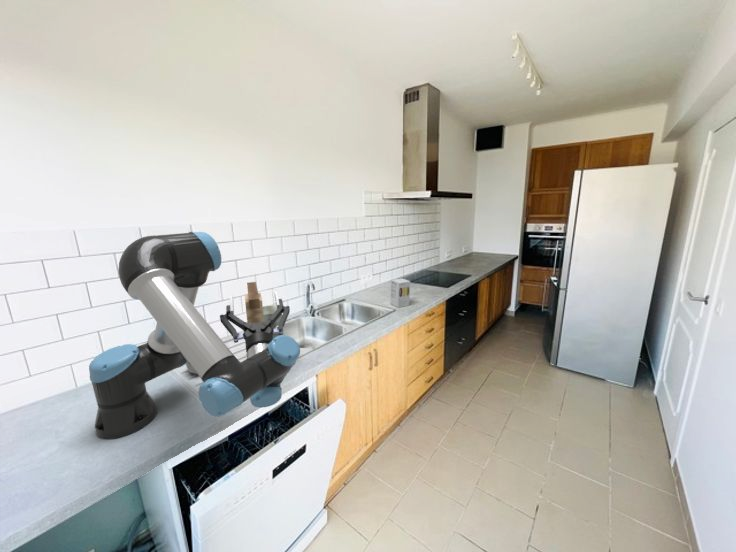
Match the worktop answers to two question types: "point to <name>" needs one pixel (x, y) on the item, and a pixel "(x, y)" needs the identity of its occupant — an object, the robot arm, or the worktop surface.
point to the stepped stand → (261, 313)
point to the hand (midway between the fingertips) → (254, 295)
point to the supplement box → (400, 292)
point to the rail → (253, 295)
